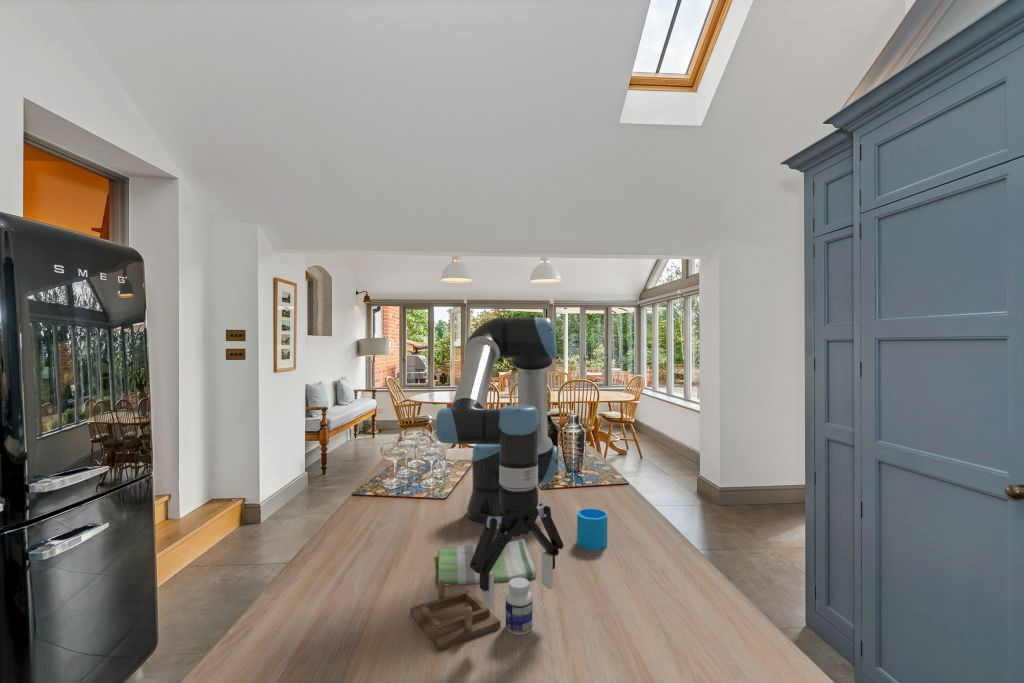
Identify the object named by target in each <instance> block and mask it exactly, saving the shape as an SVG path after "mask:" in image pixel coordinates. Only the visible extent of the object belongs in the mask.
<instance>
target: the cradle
mask: <svg viewBox="0 0 1024 683" xmlns="http://www.w3.org/2000/svg"><path fill="white" fill-rule="evenodd" d="M437 582H438V585H437V586H438V588H437V589H438V590H437V596H438V597H437V598H438V599H434V600H431V601H428V602H425V603H423V604H419V605H415V606H413V607H412V606H411V607H410V610H409V611H410V613H411V614H410V616H411V617H412V616H413V617H412V618H413V619H414V621H415V620H416V621H415V622H416V623H417V624H418V625H419V628H421V629H422V631H423V632H424V634H426V636H427V638H429V640H430V642H432V644H433V645H434V646H435V648H436V650H438V651H439V652H440V651H442V650H446V649H448V648H450V647H451V648H452V647H453V646H455V645H459V644H461V643H464V642H467V641H469V640H472V639H473V638H477V637H479V636H483V635H485V634H487V633H490V632H493V631H496V630H498V629H500V628H501V624H502V623H501V620H500V619H499V618H498V617H497V616H495V614H493V613H492V611H491V610H490V609H489V608H488V607H487V606H486V605H484V604H483V601H481V600H480V599H479V598H478V597H477V596H476V595H474V593H472V592H471V591H470V590H469V589H466V590H462V591H460V592H456V593H453V594H450V595H447V596H446V585H445V581H444V580H440V581H438V580H437Z"/></svg>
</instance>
